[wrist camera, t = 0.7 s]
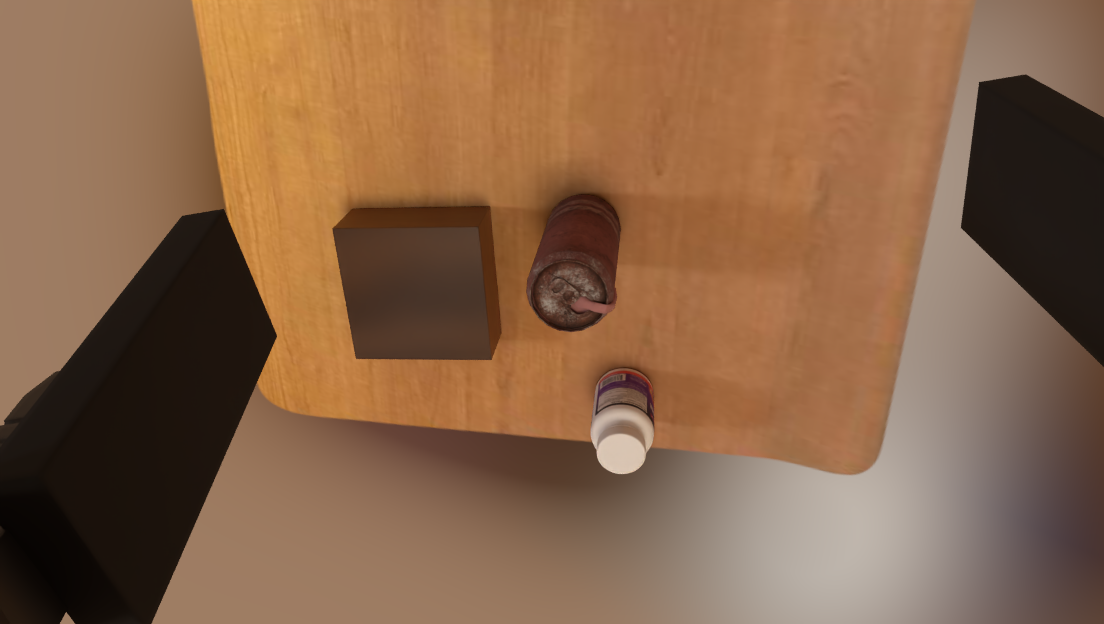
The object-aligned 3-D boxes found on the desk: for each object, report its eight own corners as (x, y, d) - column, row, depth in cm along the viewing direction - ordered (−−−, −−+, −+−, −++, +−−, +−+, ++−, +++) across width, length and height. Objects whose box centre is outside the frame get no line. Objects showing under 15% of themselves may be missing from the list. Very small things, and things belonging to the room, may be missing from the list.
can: (618, 266, 69) (610, 343, 57) (544, 255, 70) (520, 329, 57) (629, 198, 66) (623, 264, 54) (552, 187, 67) (529, 250, 54)
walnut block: (352, 208, 70) (332, 228, 65) (490, 206, 68) (478, 226, 64) (373, 332, 75) (355, 359, 70) (501, 333, 73) (491, 360, 69)
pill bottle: (642, 423, 76) (641, 489, 67) (588, 406, 76) (579, 470, 67) (662, 376, 73) (663, 438, 65) (605, 358, 73) (599, 418, 65)
